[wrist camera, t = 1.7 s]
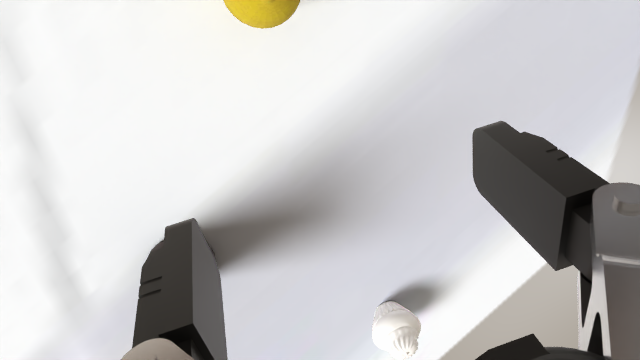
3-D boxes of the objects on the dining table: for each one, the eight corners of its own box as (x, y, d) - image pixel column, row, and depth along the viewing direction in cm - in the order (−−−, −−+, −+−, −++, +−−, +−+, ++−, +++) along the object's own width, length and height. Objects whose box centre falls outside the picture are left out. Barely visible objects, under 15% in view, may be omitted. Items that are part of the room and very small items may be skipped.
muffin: (415, 311, 59) (438, 356, 54) (374, 332, 60) (392, 379, 54) (400, 284, 56) (423, 329, 50) (356, 307, 56) (374, 354, 50)
